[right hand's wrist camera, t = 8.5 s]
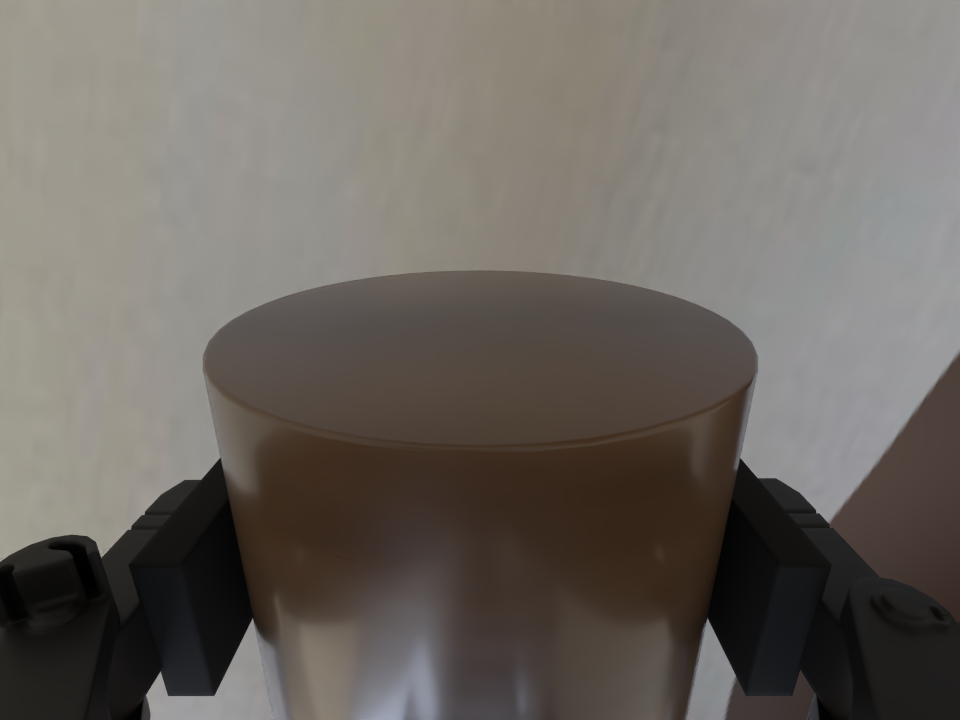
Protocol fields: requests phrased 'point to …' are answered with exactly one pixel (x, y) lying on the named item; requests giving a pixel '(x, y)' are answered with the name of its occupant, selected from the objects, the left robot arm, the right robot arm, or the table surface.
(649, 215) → the table surface
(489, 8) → the table surface
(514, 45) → the table surface
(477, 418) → the rod
